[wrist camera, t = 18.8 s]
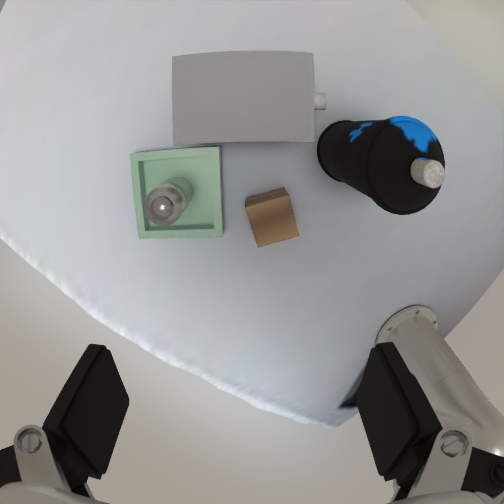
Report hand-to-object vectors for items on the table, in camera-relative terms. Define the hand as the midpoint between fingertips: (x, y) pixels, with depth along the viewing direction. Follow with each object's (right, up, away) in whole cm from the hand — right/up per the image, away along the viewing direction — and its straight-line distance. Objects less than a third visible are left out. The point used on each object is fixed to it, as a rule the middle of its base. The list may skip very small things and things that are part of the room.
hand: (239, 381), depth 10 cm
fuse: (-9, +12, +27) cm, 31 cm away
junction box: (0, +22, +24) cm, 32 cm away
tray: (-9, +12, +28) cm, 31 cm away
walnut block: (+3, +10, +29) cm, 31 cm away
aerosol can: (+13, +17, +26) cm, 34 cm away
